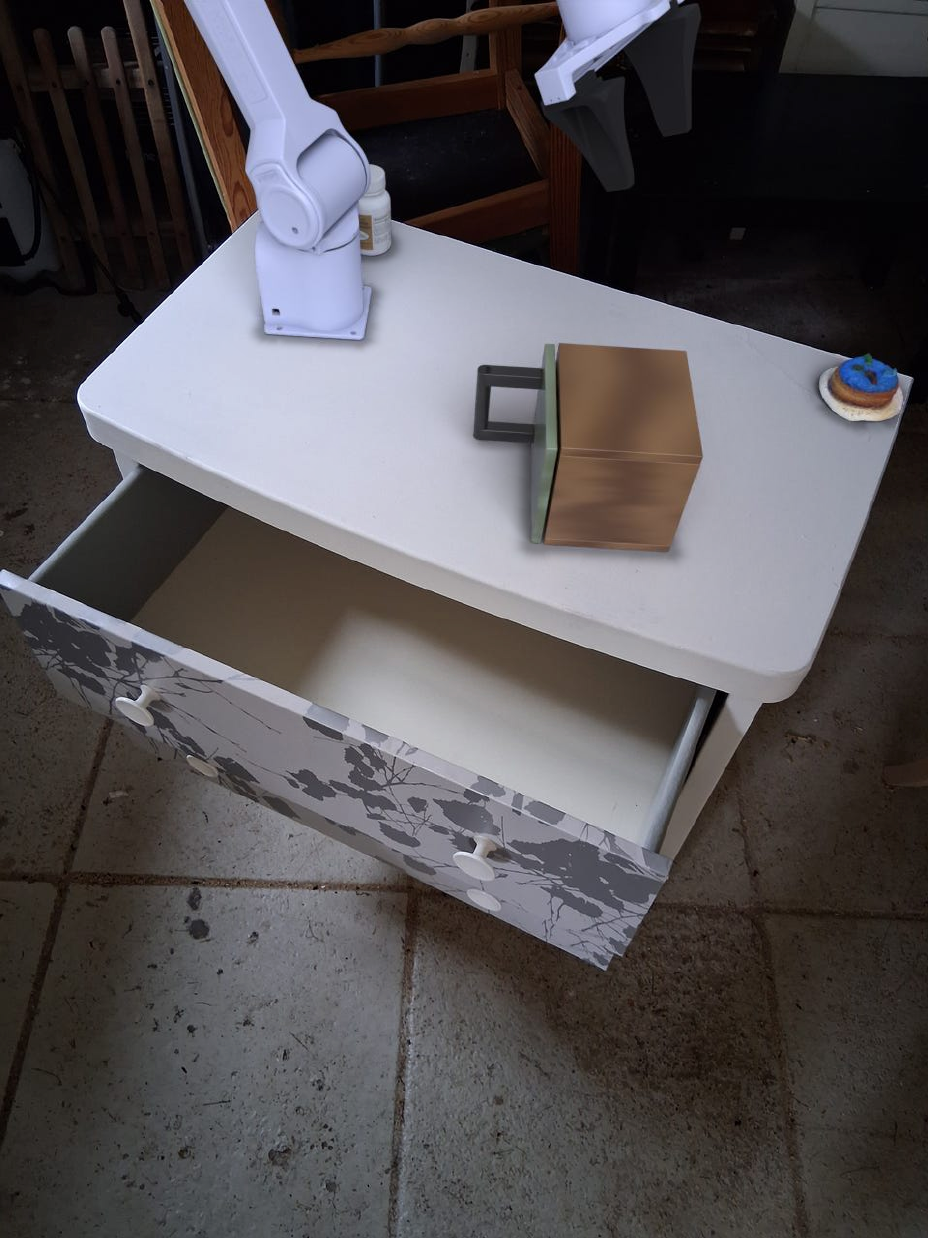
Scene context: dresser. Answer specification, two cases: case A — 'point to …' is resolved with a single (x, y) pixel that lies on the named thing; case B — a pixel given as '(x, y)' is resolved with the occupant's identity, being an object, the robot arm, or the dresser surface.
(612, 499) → the cupboard
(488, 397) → the door
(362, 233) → the pill bottle
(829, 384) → the dessert
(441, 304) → the dresser surface
